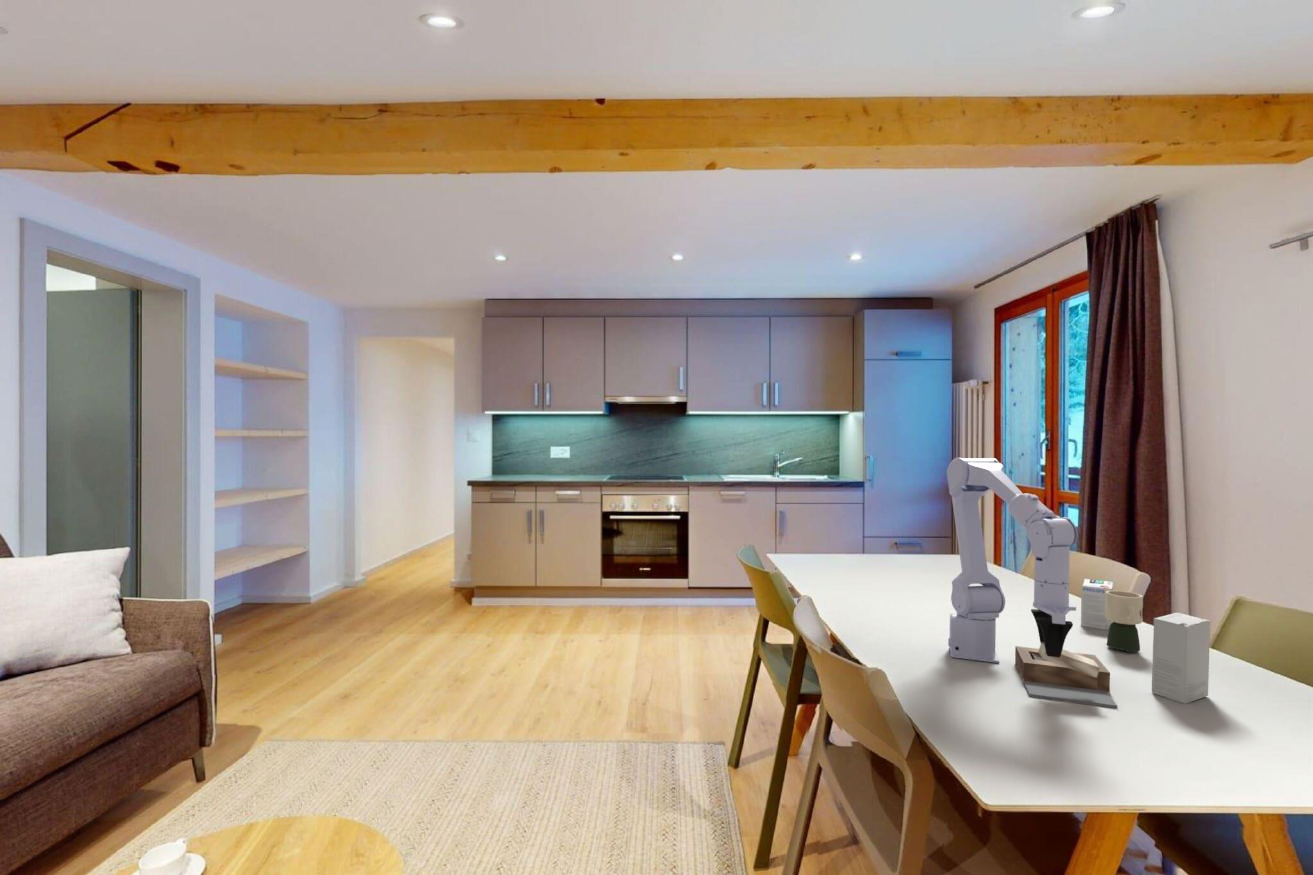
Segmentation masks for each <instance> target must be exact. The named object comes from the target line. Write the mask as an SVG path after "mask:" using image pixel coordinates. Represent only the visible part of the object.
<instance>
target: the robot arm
mask: <svg viewBox="0 0 1313 875" xmlns="http://www.w3.org/2000/svg"><path fill="white" fill-rule="evenodd" d="M946 477H947V484H948V491H949V495H950V496H951V502H952V508H953V509H952V510H953V514H954V517H953V518H954V522H955V530H956V531H955V532H956V539H957V544H958V552H959V559H960V565H961V572H960V573H959V574H958V575H957V576H956V577H955V578H954V579H953V580H951V588H952V591H951V595H950V596H951V597H950V600H951V604H952V607H953V609H954V610H955V612H956V613H950V615H949V637H948V640H947V641H948V642H947V644H948V649H949V652H950V658H954V659H955V658H957V659H961V660H962V659H963V660H970V661H971V660H972V661H979V662H989V663H995V664H996V663H1000V659H999V657H998V654H997V651H996V638H997V637H996V628H997V627H996V626H997V624H996V621H997V618H1000V614H1002V612H1003V611H1004V609H1005V607H1006V597H1005V594H1004V592H1003V589H1002V587H1001V584H1000V580H999V578H997V576H995V575H994V574H992V572H990V571H989V568H988V564H987V563H988V562H987V556H986V548H985V543H984V542H985V541H984V534H983V529H982V528H983V527H982V521H981V515H980V513H981V512H980V507H979V500H980V499H981V498H982V497H984V496H985V495H987V494H988V493H989V492H993V493H994V494H995V495H996V496H997V497H999V498H1000V499H1001V500H1003V501H1004V502H1005V503H1006V504H1007V505H1008V512H1009V515H1011V516H1012V518H1014V520H1016V522H1018V523H1019V524H1020V525H1021V526H1022V527H1023V528H1024V529H1025V530H1026V534H1027V539H1028V541H1029V543H1030V545H1031V554H1032V556H1034V573H1033V574H1034V575H1033V576H1034V579H1033V582H1034V583H1033V584H1034V585H1033V586H1034V587H1033V592H1034V593H1033V601H1032V607H1033V608H1031V609H1030V611H1031V614H1032V616H1033V618H1034V620H1035V623H1036V628H1037V631H1038V636H1039V642H1040V643H1041V642H1043V643H1044V644H1045V650H1046V654H1047V656H1051V657H1060V656H1061V653H1062V649H1063V648H1064V645H1065V641H1066V639H1067V636H1068V634H1069V633H1070V630H1071V629H1072V628H1073V626H1074V623H1073V622H1072V621H1070V620H1067V621H1066V615H1068V614H1069V612H1071V611H1073V612H1075V611H1077V607H1076V605H1075V604H1070V554H1071V552H1070V550H1071V548H1072V547H1073V546H1075V544H1076V543H1077V541H1078V529H1077V527H1076V524H1075V523H1074V522H1073V521H1072V520H1071V519H1070V518H1069V517H1066V516H1063V517H1062V516H1061V517H1060V516H1059V515H1057V514H1055V513H1054V511H1053V510H1051V509H1049V507H1047V506H1046V505H1045V504H1043V502H1041V501H1040V500H1039V498H1040V497H1039V496H1037V495H1036V494H1032V493H1028V492H1027V493H1023V492H1022V491H1021V490H1020V488H1018V487H1017V485H1016V484H1015V483H1014V482H1013V481H1012V480H1011V478H1009V476H1007V475H1006V473H1005V467H1004V465H1003V464H1002V463H1000V462H999V460H998V459H997V458H993V457H988V458H985V457H984V458H976V457H975V458H974V457H973V458H970V457H967V458H964V457H963V458H962V457H954V458H953V459H952V460H951V461H950V463H949V465H948V467H947V469H946ZM973 584H979V585H973ZM970 585H971V586H970ZM1063 650H1064V649H1063Z"/></svg>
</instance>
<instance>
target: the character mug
mask: <svg viewBox="0 0 1313 875" xmlns="http://www.w3.org/2000/svg"><path fill="white" fill-rule="evenodd" d="M1143 609H1144V597H1143V595H1142V594H1139V593H1135V592H1132V591H1124V590H1113V591H1106V593H1105V617H1106V619H1107V620H1110V621H1112V623H1111V624H1110V627H1109V630H1108V633H1107V639H1106V646H1107V647H1109V648H1111V649H1116V650H1117V649H1118V650H1121V651H1123V652H1124V653H1127V651H1128V652H1129V651H1130V652H1134V653H1136V652H1140V651H1141V644H1140V638H1139V631H1138V628H1137V626H1136V625H1140V624H1142V623H1143V621H1144V618H1143V617H1144V616H1143Z"/></svg>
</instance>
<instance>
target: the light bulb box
mask: <svg viewBox="0 0 1313 875" xmlns="http://www.w3.org/2000/svg"><path fill="white" fill-rule="evenodd" d="M1106 591H1114V583H1113V581H1110V580H1108V581H1107V580H1100V579H1099V580H1097V579H1091V578H1090V579H1089V578H1083V583H1082V585H1081V596H1080V597H1081V600H1080V601H1081V606H1080V612H1081V613H1080V627H1083V628H1084V627H1086V628H1093V629H1099V630H1104V631H1105V630H1106V631H1109V627H1110V624H1111V623H1112V621H1110V620H1107V619H1106V617H1105V593H1106Z"/></svg>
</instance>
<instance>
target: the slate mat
mask: <svg viewBox="0 0 1313 875" xmlns="http://www.w3.org/2000/svg"><path fill="white" fill-rule="evenodd" d="M1022 681H1023V680H1022ZM1022 684H1023V685H1024V689H1025V690H1026V692H1027V694H1028V696H1029V697H1031V698H1038V699H1045V700H1051V701H1059V702H1068V703H1075V704H1081V705H1088V706H1089V705H1090V706H1097V707H1105V708H1110V709H1111V708H1112V709H1118V704H1117V703H1116V701H1114V699H1113V698H1112V696H1111V695H1110V694H1109V692H1107V691H1100V690H1092V689H1084V688H1076V687H1069V686H1061V685H1053V684H1045V683H1037V682H1030V681H1023V683H1022Z"/></svg>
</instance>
